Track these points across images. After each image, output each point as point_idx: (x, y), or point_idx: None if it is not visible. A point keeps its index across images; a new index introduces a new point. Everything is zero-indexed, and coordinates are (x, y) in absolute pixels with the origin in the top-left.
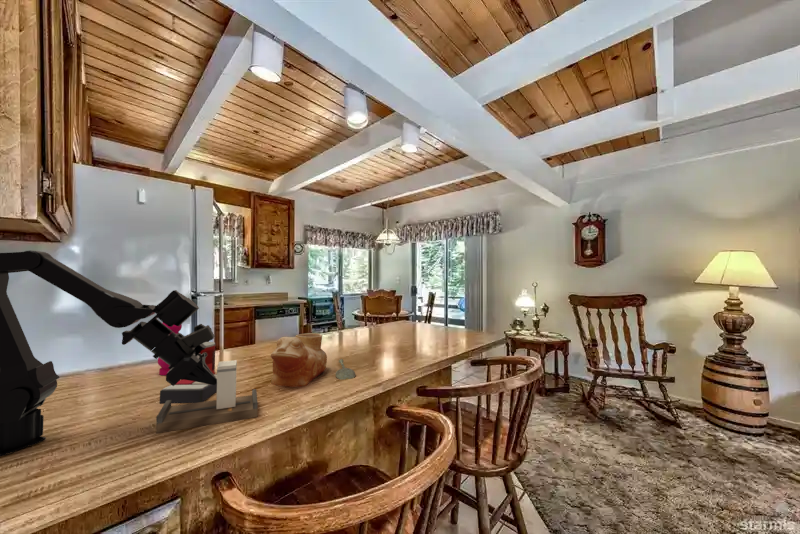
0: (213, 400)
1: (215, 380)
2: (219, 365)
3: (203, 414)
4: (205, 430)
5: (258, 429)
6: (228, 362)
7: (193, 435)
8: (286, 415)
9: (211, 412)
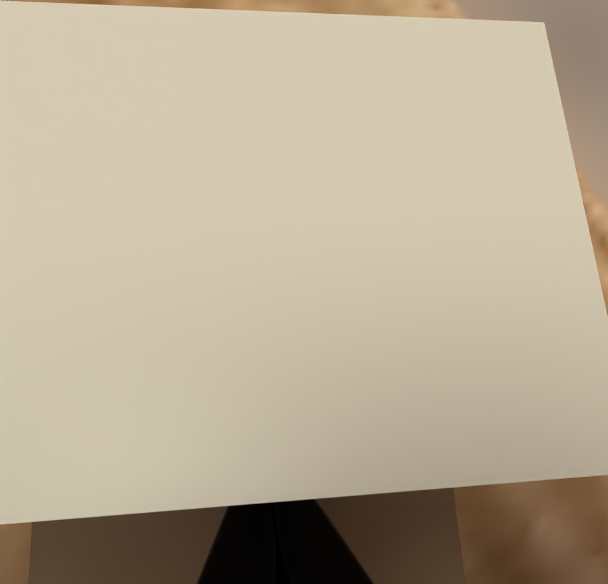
0: (35, 534)
1: (321, 507)
2: (484, 427)
3: (406, 564)
4: (519, 505)
5: (581, 174)
6: (186, 198)
7: (581, 579)
8: (421, 16)
9: (380, 496)
